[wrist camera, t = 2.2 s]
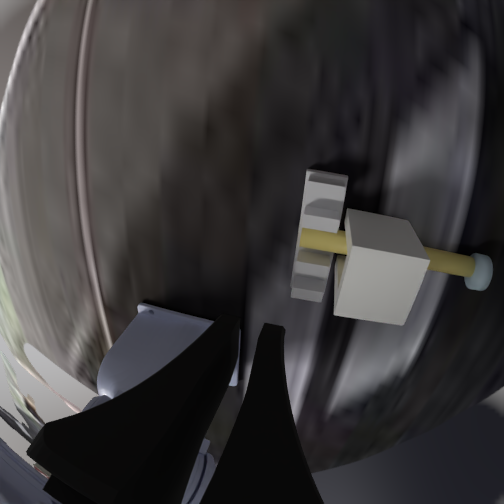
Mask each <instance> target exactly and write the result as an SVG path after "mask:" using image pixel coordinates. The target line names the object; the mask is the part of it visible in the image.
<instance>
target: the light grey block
mask: <svg viewBox="0 0 504 504" xmlns="http://www.w3.org/2000/svg"><path fill="white" fill-rule="evenodd" d="M344 223H345V232H346V243H347V256H342V255H337V259H336V263H335V287H334V315H336V316H342V317H349V318H355V319H361V320H368V321H374V322H381V323H388V324H395V325H402V326H403V325H404V323H405V321H406V319H407V317H408V314H409V312H410V310H411V308H412V305H413V303H414V301H415V298H416V296H417V294H418V291H419V289H420V286H421V284H422V281H423V279H424V276H425V273H426V271H427V268H428V265H429V263H430V259H429V257H428V255H427V253H426V251H425V249H424V247H423V246H422V244H421V242H420V240H419V238H418V236H417V235H416V233H415V231H414V229H413V228H412V226H411V224H410V222H409V221H408V220H404V219H399V218H395V217H390V216H385V215H380V214H375V213H370V212H365V211H359V210H354V209H349V208H347V211H346V216H345V221H344Z"/></svg>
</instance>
